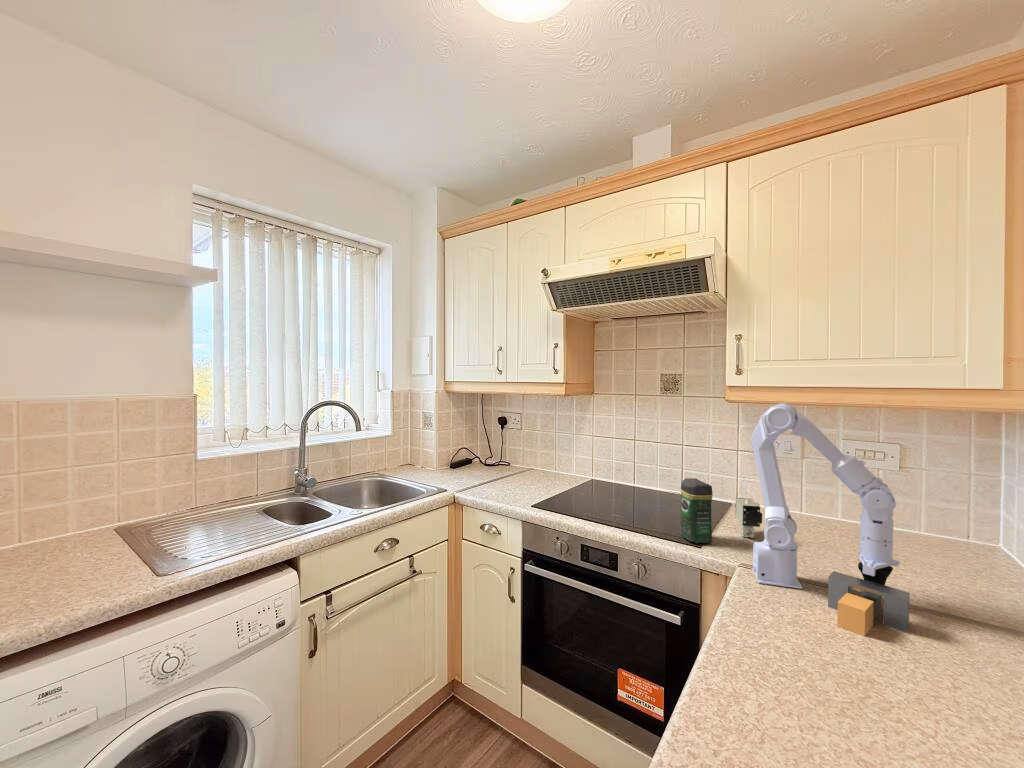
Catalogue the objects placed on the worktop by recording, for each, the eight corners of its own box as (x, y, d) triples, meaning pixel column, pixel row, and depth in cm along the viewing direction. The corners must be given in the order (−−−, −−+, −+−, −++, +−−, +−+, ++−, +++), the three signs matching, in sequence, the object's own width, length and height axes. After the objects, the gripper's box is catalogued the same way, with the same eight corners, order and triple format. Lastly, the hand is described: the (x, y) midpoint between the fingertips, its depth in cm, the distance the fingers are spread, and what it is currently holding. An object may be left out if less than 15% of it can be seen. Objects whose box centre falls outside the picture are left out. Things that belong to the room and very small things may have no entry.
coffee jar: (716, 544, 133) (717, 483, 132) (691, 545, 132) (691, 484, 131) (700, 533, 142) (700, 476, 142) (676, 533, 142) (677, 476, 141)
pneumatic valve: (744, 542, 134) (744, 503, 134) (734, 529, 146) (734, 493, 145) (764, 544, 133) (764, 504, 133) (752, 530, 144) (753, 494, 144)
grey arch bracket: (832, 600, 101) (833, 570, 100) (908, 625, 91) (909, 592, 91) (827, 606, 98) (828, 576, 98) (905, 632, 88) (906, 599, 88)
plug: (860, 600, 100) (861, 579, 100) (885, 609, 97) (886, 586, 97) (837, 625, 91) (837, 601, 90) (864, 635, 87) (865, 611, 87)
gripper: (893, 551, 91) (891, 616, 92) (905, 534, 101) (903, 592, 101) (851, 541, 96) (849, 602, 97) (866, 526, 106) (864, 581, 106)
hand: (874, 596), depth 99 cm, fingers closed
